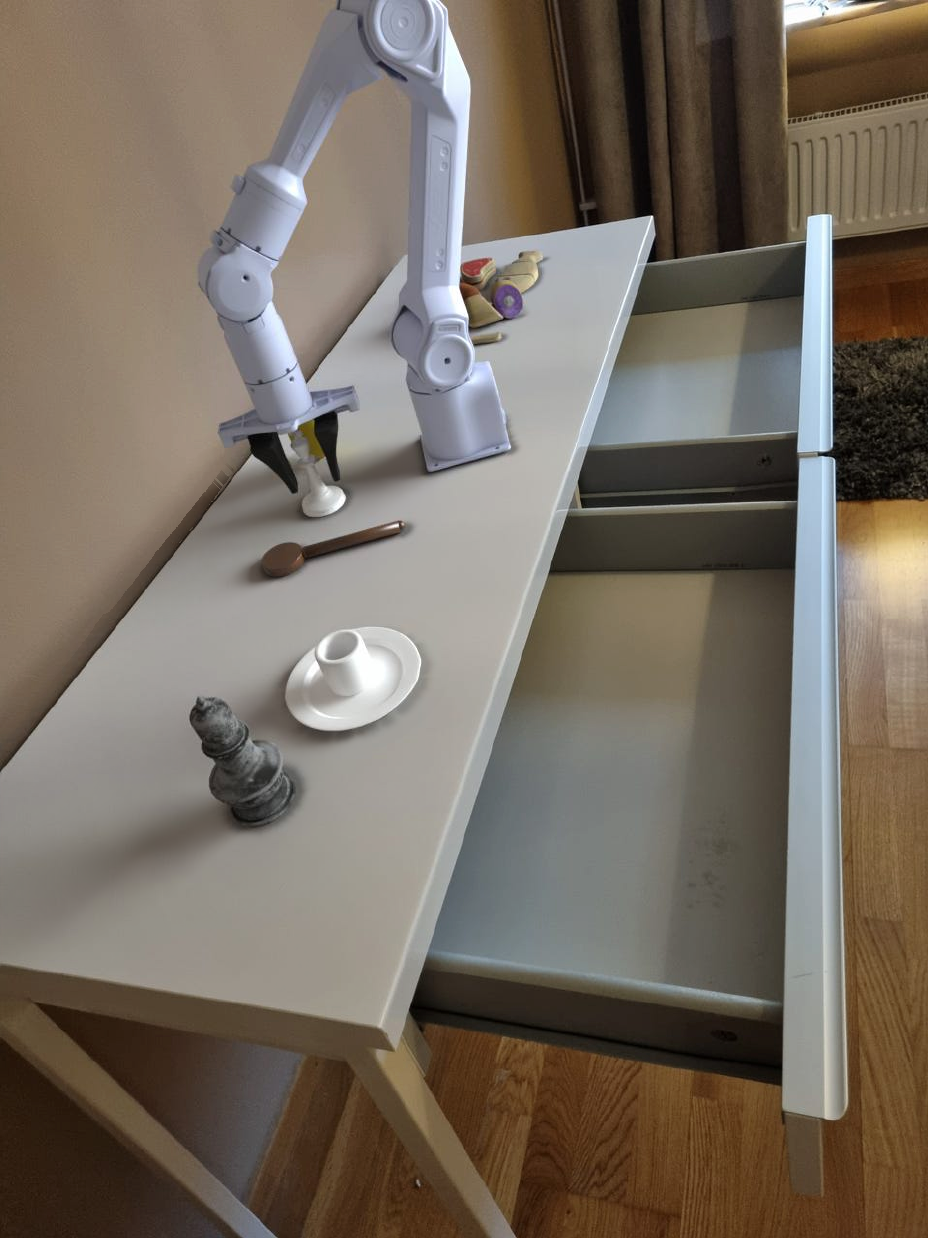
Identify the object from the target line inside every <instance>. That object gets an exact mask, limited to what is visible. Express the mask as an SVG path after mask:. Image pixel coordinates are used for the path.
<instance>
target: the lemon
mask: <svg viewBox="0 0 928 1238" xmlns="http://www.w3.org/2000/svg"><path fill="white" fill-rule="evenodd" d="M297 430H299V431H302V432H303V435H302V436H301V437H306V438H308V440H309V450H310V455H314V456H315V457H316V458H317V459H324V458H326V457H325V455H324V453H323V451H322V449H321V446H320V444H319V442H318V441H317V439H316V437H315V434H314V420H312V421H309V422H305V423H303V424H301V425H299V426H298V428H297ZM287 435H288V438H289V440H290V443H291V442H292V441H293V440H295V438H294V436H292V435H289V434H288V433H287Z"/></svg>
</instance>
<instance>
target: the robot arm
mask: <svg viewBox="0 0 928 1238" xmlns="http://www.w3.org/2000/svg"><path fill="white" fill-rule="evenodd" d="M380 69H381V70H382V71H383V72H385V73H386V75H387V76H388V78H389V79H390V80H391V81H392V83H394V85H396V87H397V88H398V89H399V90H400V92H402V94H404V96H405V97H406V98H407V99H408V100H409V102H410V106H411V107H410V108H411V110H410V145H409V146H410V147H409V149H410V150H409V151H410V152H409V182H408V185H409V186H408V187H409V189H408V190H409V191H408V225H407V226H408V229H407V267H406V269H407V271H406V281H405V283H404V285H403V286H402V288H400V291H399V294H398V306H397V310H396V313H395V314H394V317H393V319H392V321H391V324H390V327H389V340H390V341H389V342H390V344H391V346H392V349H393V350H394V351H395V353H396V355H397V356H400V357H401V358H402V359H404V361H406V363H407V367H406V375H405V382H406V386H407V389H408V392H409V396H410V399H411V402H412V405H413V409H414V413H415V416H416V420H417V423H418V426H419V430H420V433H421V435H420V441H421V446H422V451H423V455H424V461H425V465H426V466H425V467H426V469H427V471H428V472H430V473H431V472H436V471H440V470H443V469H447V468H450V467H451V468H452V467H453V466H457V465H461V464H465V463H468V462H472V461H476V460H479V459H483V458H486V457H490V456H493V455H497V454H500V453H504V452H508V451H509V450H511V448H512V446H511V443H510V439H509V435H508V430H507V426H506V424H507V417H506V413H505V410H504V407H503V406H502V403H501V399H500V394H499V390H498V387H497V383H496V379H495V376H494V373H493V369H492V367H491V366H492V365H491V363H490V361H488V360H485V361H477V362H476V361H475V358H476V355H475V354H476V353H475V347H474V344H472V342H471V339H470V333H469V325H468V319H469V318H468V314H467V310H466V307H465V305H464V302H463V299H462V296H461V293H460V289H459V281H460V279H461V278H460V277H461V271H460V265H461V260H462V246H463V245H462V243H463V228H464V227H463V226H464V210H465V209H464V208H465V195H466V193H465V192H466V176H467V175H466V173H467V161H468V159H467V158H468V143H469V123H470V107H471V90H472V89H471V79H470V75H469V73H468V71H467V68H466V66H465V64H464V61H463V58H462V56H461V53H460V50H459V48H458V46H457V43H456V41H455V38H454V35H453V33H452V31H451V28H450V24H449V12H448V8H447V7H446V6H445V5H444V4H443V3H442V1H440V0H336V1H335V8H330V9H329V11H328V12H327V14H326V15H325V17H324V18H323V21H322V22H321V25H320V28H319V30H318V33H317V35H316V38H315V41H314V43H313V45H312V48H311V50H310V54H309V55H308V59H307V61H306V63H305V66H304V68H303V71H302V73H301V76H300V78H299V81H298V83H297V85H296V88H295V90H294V93H293V96H292V98H291V101H290V103H289V106H288V108H287V111H286V113H285V116H284V118H283V120H282V123H281V125H280V127H279V130H278V133H277V135H276V138H275V140H274V143H273V145H272V148H271V150H270V153H269V155H268V157H267V158H265V159H262V160H260V161H257V162H254V163H251V164H249V165H248V166H247V167H246V169H245V170H244V171H245V172H244V173H243V176H241V175H240V174H235V175H234V176H233V179H232V181H231V184H230V189H231V190H232V192H233V193H235V194H234V196H233V198H232V200H231V202H230V205H229V207H228V209H227V212H226V213H225V216H224V217H223V220H222V222H221V225H220V226H219V229H218V231H217V230H215V229H212V231H211V234H210V236H209V238H208V240H209V242H210V243H211V244H212V247H207V248H206V250H205V251H204V252H203V253H202V255H201V256H200V258H199V261H198V265H197V278H198V279H197V280H198V282H197V285H198V287H199V289H200V290H201V292H202V293H203V294H204V295H205V296H206V298H207V300H208V302H209V303H210V305H211V307H212V308H213V309H214V310H215V313H216V315H217V317H216V318H217V322H218V325H219V327H220V329H221V330H222V331H223V337H224V341H225V342H226V344H227V348H228V350H229V352H230V354H231V357H232V359H233V361H234V364H235V366H236V368H237V371H238V373H239V375H240V377H241V379H242V382H243V384H244V386H245V389H246V391H247V393H248V396H249V398H250V400H251V403H252V404H253V407H254V408H253V409H251V410H249V411H247V412H245V413H243V414H240V415H238V416H236V417H233V418H231V419H229V420H225V421H222V422H220V423H218V428H217V434H218V436H219V438H220V441H221V442H222V444H223V447H224V449H227V448H228V449H229V448H231V447H234V446H235V445H236V443H238V442H242V441H245V440H248V443H249V446H250V447H249V450H250V451H249V452H250V453H251V454H252V456H253V457H254V458H255V459H256V460H259V461H260V462H261V463H263V464H264V465H265V466H267V467H268V468H269V469H270V470H271V471H272V472H274V473H275V474H276V476H277V477H278V478H279V479H280V480H281V481H282V482H283V484H285V486H286V487H287V489H288V490H289V491H290V493H291V494H292V495H293V494H296V493H297V494H298V493H299V481H298V478H297V476H296V473H295V470H294V469H293V467H292V465H291V463H290V461H289V459H288V457H287V455H286V452H285V450H284V447H283V444H282V441H281V439H280V436H283V435H288V433H290V432H294V431H296V430H297V428H298V426H299V425H301V424H303V423H305V422H309V421H312V420H314V434H315V437H316V439H317V441H318V442H319V444H320V446H321V449H322V451H323V453H324V455H325V457H324V458H325V460H326V463H327V466H328V470H329V472H330V476H331V478H332V481H333V483H337V482H340V481H341V480H342V479H341V470H340V467H339V463H338V456H337V446H338V445H337V444H338V443H337V442H338V436H339V415H338V414H341V413H344V412H347V411H349V413H354V412H358V411H360V410H361V405H360V400H359V397H358V394H357V390H356V387H355V385H349V386H345V387H340V388H339V387H338V388H332V389H323V390H313V391H310V389H309V387H308V385H307V382H306V380H305V376H304V374H303V372H302V369H301V366H300V363H299V361H298V359H297V356H296V353H295V351H294V349H293V345H292V343H291V340H290V339H289V335H288V333H287V330H286V326H285V325H284V322H283V320H282V317H281V316H280V315H279V314H278V313H277V311H276V308H275V305H274V303H273V297H274V284H273V279H272V276H271V275H272V272H273V271H274V270H275V269H276V268H277V267H278V265H279V262H280V260H281V259H282V256H283V255H284V252H285V250H286V248H287V246H288V245H289V241H291V238H292V236H293V233H294V232H295V229H296V227H297V225H298V223H299V222H300V219H301V217H302V215H303V213H304V211H305V209H306V206H307V205H308V199H307V195H306V192H305V188H304V184H303V183H304V182H303V179H304V177H305V176H306V174H307V171H308V170H309V168H310V166H311V165H312V162H313V161H314V159H315V157H316V155H317V153H318V151H319V150H320V148H321V146H322V144H323V142H324V140H325V138H326V136H327V134H328V133H329V131H330V128H332V125H333V124H334V121H335V120H336V117H337V116H338V114H339V112H340V110H341V108H342V106H343V104H344V103H345V101H346V100H347V97H349V95H350V94H352V93H354V92H357V91H359V90H361V89H363V88H366V87H367V86H369V85H372V84H374V83H376V82H379V81H380V80H382V79H383V78H384V75H383V73H382V72H381V71H380Z"/></svg>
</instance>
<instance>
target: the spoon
mask: <svg viewBox="0 0 928 1238" xmlns="http://www.w3.org/2000/svg"><path fill="white" fill-rule="evenodd" d="M405 529H406V523H405V522H404V521H403V520H400V519H399V520H395V521H392V522H388V523H384V524H380V525H377V526H373V527H369V528H366V529H363V530H359V531H354V532H352V533H348V534H345V535H344V534H343V535H341V536H337V537H334V538H329V539H326V540H322V541H319V542H315V543H312V544H308V545H305V546H303V547H302V545H301V544H299V543H297V542H293V541H286V542H282V543H279V544H276V545H274V546H273V547H271V548H270V549H268V550H267V551H266V552H265V553H264V555H263V556H262V558H261V566H262V568H263V570H264V572H265V573H266V574H267V575H268V576H271V577H274V578H281V577H285V576H288V575H290V574H293V573H294V572H296V571H297V570H298V569H300V568H301V567H302V566H303V564H304V563H305V560H306V559H308V558H312V557H316V556H319V555H323V554H326V553H330V552H334V551H337V550H341V549H344V548H348V547H353V546H355V545H356V546H357V545H359V544H362V543H366V542H370V541H373V540H377V539H380V538H384V537H387V536H391V535H395V534H399V533H402V532H404V531H405Z"/></svg>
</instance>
